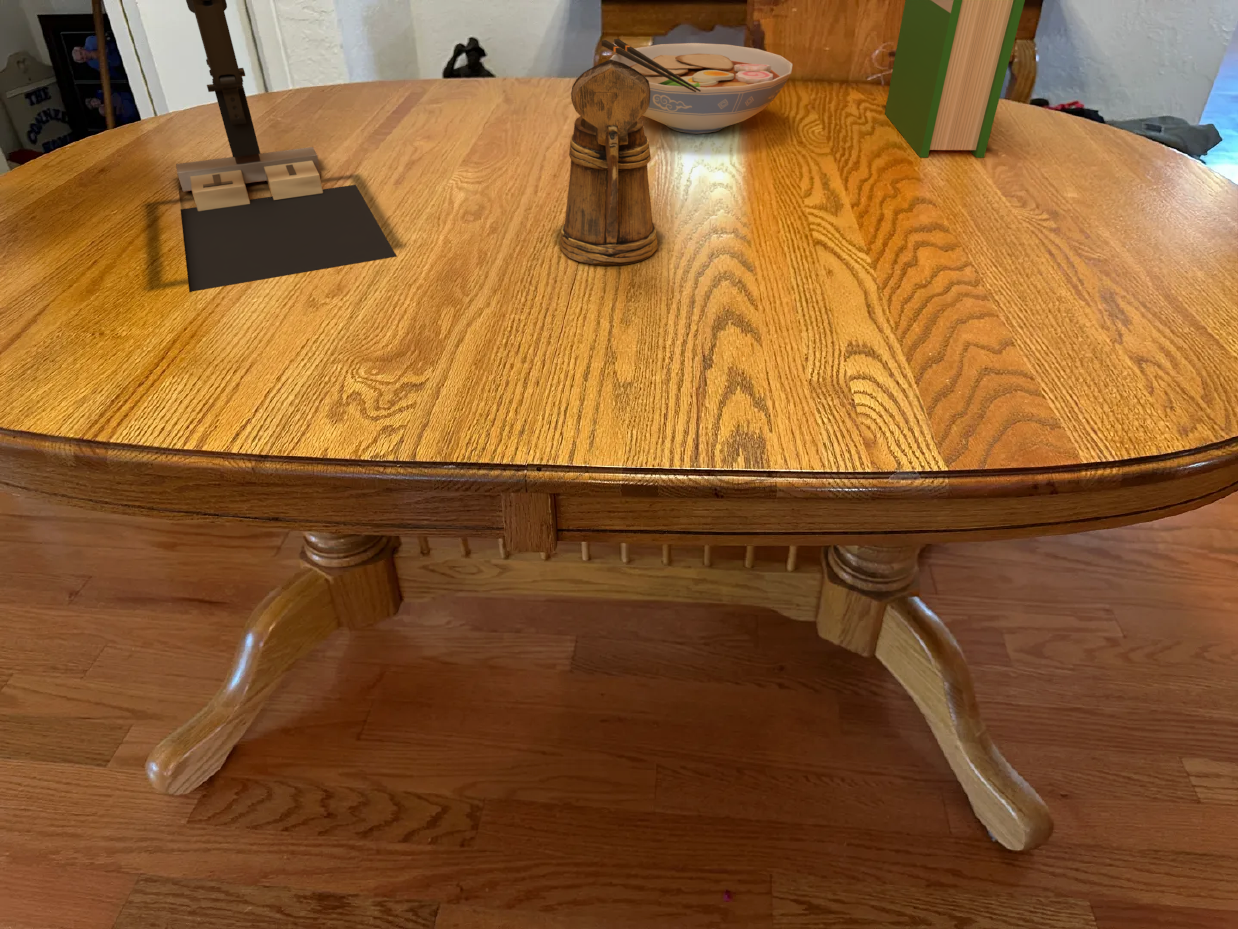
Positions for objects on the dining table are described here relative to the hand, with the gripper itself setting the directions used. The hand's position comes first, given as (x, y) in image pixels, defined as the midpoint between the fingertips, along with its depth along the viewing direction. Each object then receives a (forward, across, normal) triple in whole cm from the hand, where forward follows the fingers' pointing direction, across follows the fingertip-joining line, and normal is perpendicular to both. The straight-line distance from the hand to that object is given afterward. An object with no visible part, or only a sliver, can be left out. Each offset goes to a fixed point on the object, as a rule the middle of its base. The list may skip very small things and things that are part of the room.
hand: (244, 149), depth 90 cm
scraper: (+3, 0, 0) cm, 3 cm away
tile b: (+4, -4, -4) cm, 7 cm away
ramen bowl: (+4, -1, -54) cm, 54 cm away
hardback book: (+4, -16, -78) cm, 80 cm away
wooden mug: (+4, -33, -27) cm, 43 cm away
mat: (+4, -15, 0) cm, 16 cm away
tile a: (+4, -4, +3) cm, 6 cm away
